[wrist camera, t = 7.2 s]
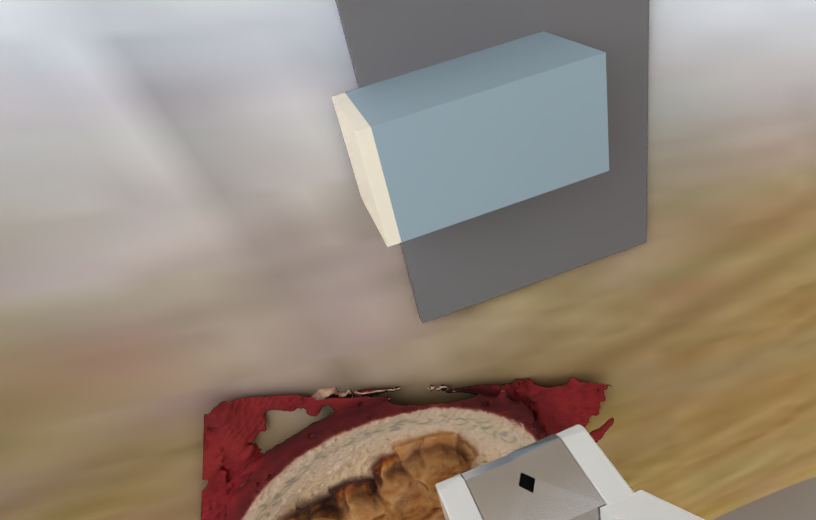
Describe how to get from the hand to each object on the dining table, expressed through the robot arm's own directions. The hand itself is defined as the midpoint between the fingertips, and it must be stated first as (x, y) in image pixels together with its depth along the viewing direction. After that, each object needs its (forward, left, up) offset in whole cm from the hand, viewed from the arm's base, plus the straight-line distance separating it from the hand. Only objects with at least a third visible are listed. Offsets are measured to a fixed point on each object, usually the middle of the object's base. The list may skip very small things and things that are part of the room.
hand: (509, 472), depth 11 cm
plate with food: (-3, -27, -20) cm, 34 cm away
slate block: (0, 0, -16) cm, 16 cm away
